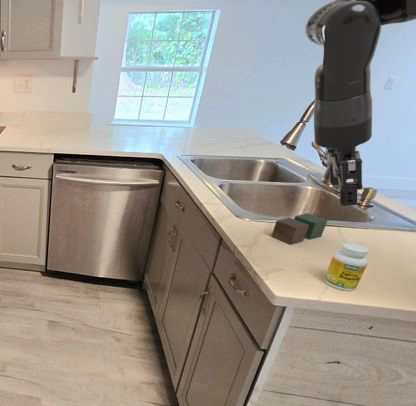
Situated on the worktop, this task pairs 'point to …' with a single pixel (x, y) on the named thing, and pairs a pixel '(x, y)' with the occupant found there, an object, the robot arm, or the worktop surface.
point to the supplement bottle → (347, 267)
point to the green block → (312, 225)
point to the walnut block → (290, 230)
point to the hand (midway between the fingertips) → (342, 193)
